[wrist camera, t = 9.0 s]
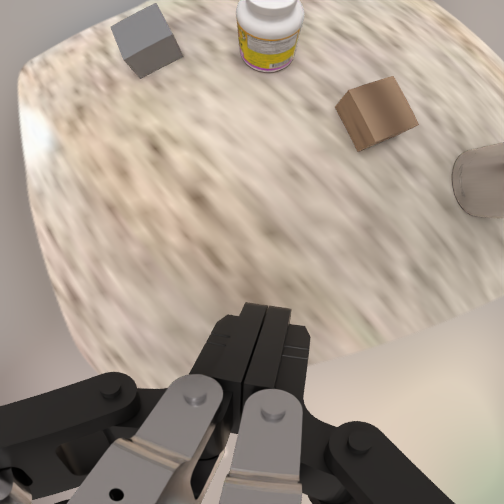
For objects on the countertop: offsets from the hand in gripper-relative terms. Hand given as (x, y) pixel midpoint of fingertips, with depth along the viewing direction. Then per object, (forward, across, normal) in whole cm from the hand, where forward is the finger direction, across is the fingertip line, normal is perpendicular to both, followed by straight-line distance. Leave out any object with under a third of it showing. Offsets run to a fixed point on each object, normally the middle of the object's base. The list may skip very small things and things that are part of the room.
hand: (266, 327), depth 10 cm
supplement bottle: (+31, +6, -16) cm, 35 cm away
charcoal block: (+28, +20, -16) cm, 38 cm away
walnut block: (+31, -6, -8) cm, 33 cm away
